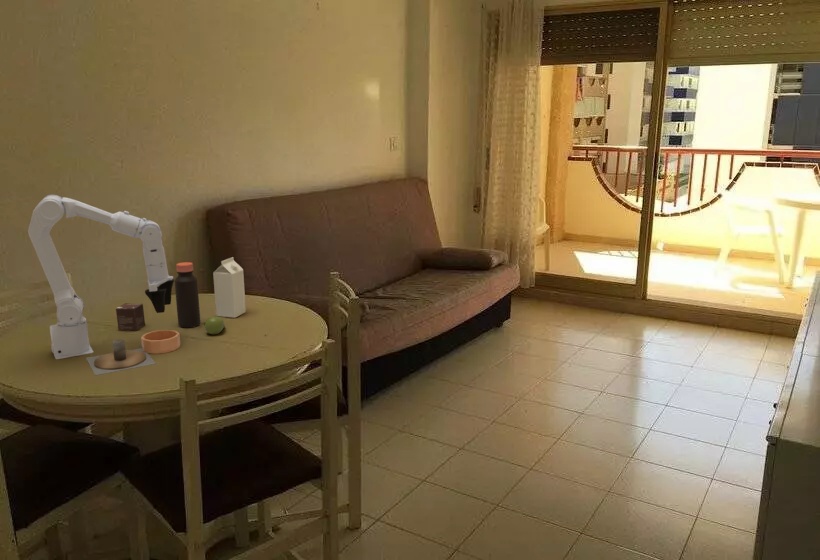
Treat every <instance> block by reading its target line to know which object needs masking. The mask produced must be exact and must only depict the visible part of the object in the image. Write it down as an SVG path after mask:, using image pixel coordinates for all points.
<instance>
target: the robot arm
mask: <svg viewBox="0 0 820 560" xmlns="http://www.w3.org/2000/svg"><path fill="white" fill-rule="evenodd" d="M64 215H65V219H70V218H74V217H80V218H81V217H82V218H84V219H89V220H91V221H95V222H99V223H102V224H106V225H108V226H109V227H110V228H111V230H112V231H113V232H115V233H119V234H121V235H126V236H128V237H130V238H134V239H140V240H141V242H142V255H143V260H144V265H145V271H146V277H147V284H148V285H147V286H148V289H147V288H146V289H145V291H144V293H145V296H147V297H148V298H149V300H150V302H151V304H152V306H153V308H154V310H155V313H157V314H161V313H165V310H166V306H169V305H171V304H172V303H171V302H172V289H173V285H174V284H175V279H174V276H173V275H169V270H168V265H167V258H166V253H165V252H166V251H165V247H164V246H163V243H164V242H163V240H162V237H163V232H162V230H161V228H160V226H159V224H158V223H157V222H155V221H154V220H151V219H150V220H149V219H148V220H147V218H145V217H142V218H140V217H138V216H135V215H132V214H130V212H129V211H127V210H124V211H117V212H115V213H112V212H109V211H106V210H104V209H101V208H98V207H96V206H92V205H90V204H87V203H84V202H81V201H79V200H76V199H74V198H70V197H64V196H63V197H61V196H59V195H56V194H48V195H46V196H44V197H43V198H42V200H40V201H39V203H38V204H37V205H36V206H35V208H34V209H33V210H32V214H31V217H30V222H29V225H28V229H27V233H28V237H29V240H30V241H31V244H32V246H33V248H34V252H35V253H36V256H37V259H38V260H39V263H40V265H41V267H42V270H43V272H44V274H45V277H46V280H47V282H48V284H49V287H50V290H51V291H52V294H53V298H54V302H55V303H54V304H55V305H56V306H55V307H56V318H57V322H56V324H52V325H49V334H50V341H51V352H52V353H53V356H54V358H55V360H60V359H67V358H71V357H76V356H77V357H78V356H83V355H89V354H93V353H94V350H93V348H92V347H91V345H90V339H89V333H88V324H87V323H88V321H87V318H86V317H85V316H84V315H83V312H84V309H85V304H84V301H83V299H82V298H81V297H79V296H78V295H77V293H76V291H75V289H74V288H73V286H72V284H71V283H70V280H69V278H68V275H67V273H66V270H65V268H64V265H63V263H62V260H61V258H60V256H59V254H58V253H59V252H58V250H57V249H56V245H55V243H54V241H53V239H52V236H51V231H52V229H53V227H54V225H55V224H57V223H58V222H59V221H60V220H61V219H62V218H63V216H64Z"/></svg>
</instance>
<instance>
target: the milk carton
mask: <svg viewBox="0 0 820 560" xmlns="http://www.w3.org/2000/svg"><path fill="white" fill-rule="evenodd" d="M234 258H235V257H233V256H232V257H229V258H226V259H224V260H221V261H220V263H221V264H220V266H218V267H217V268H216V270H214V271H213V274H212V275H213V277H212V278H213V285H214V286H213V287H214V288H213V289H214V290H213V291H214V302H215V315H216V316H215V317H221V318H223V317H224V318H233V319H235V318H237V317H239V316H241V315H243V314H244V313H246V312H247V309H246V294H245V278H244V277H245V276H244V269H243V268H242V266H240V264H239V263H237V262H236V261H235V260H234Z"/></svg>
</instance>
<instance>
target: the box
mask: <svg viewBox="0 0 820 560" xmlns="http://www.w3.org/2000/svg"><path fill="white" fill-rule="evenodd" d="M115 314H116V320H117V328H118V331H135V332H136V331H138V330H140V329H141V328H143V327H144V326H145V325H146V321H145V311H144V304H143V303H133V302H132V303H131V302H129V303H127V302H125V303H122V304H121V305H120V306H118V307H115Z"/></svg>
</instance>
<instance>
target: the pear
mask: <svg viewBox="0 0 820 560" xmlns="http://www.w3.org/2000/svg"><path fill="white" fill-rule="evenodd" d="M225 328H226V325H225V321H224V318H223V317H222V316H211V317H208V318H207V319H206V320H205V322H204V330H205V331H206V333H208V334H210V335H217V334H219V333H221V332H222V331H223V329H225Z"/></svg>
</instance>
